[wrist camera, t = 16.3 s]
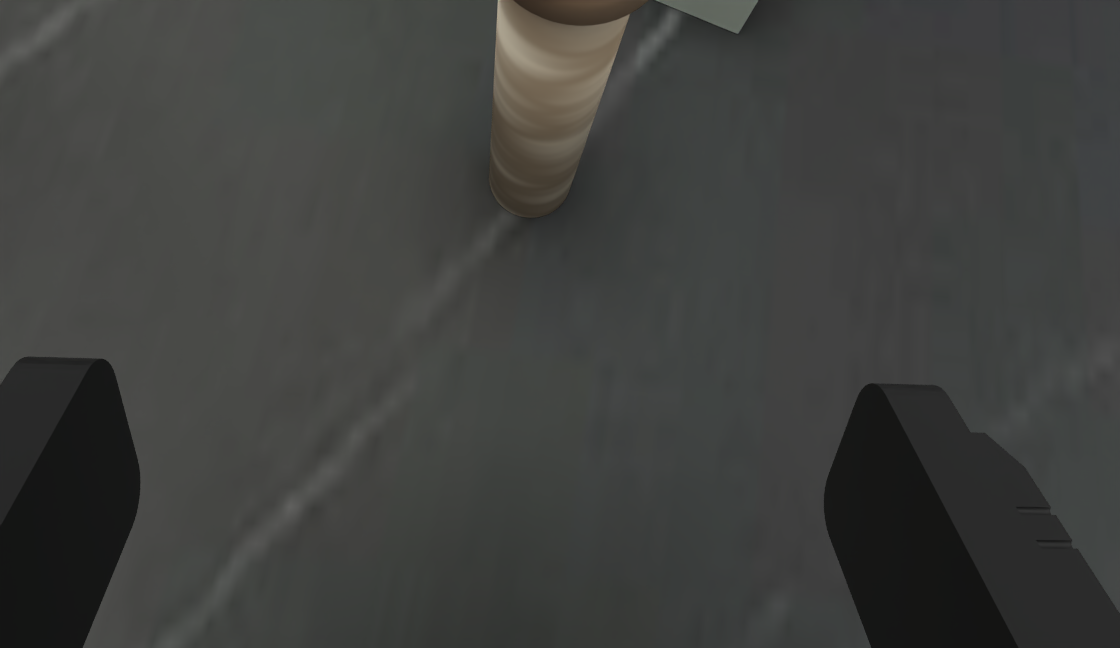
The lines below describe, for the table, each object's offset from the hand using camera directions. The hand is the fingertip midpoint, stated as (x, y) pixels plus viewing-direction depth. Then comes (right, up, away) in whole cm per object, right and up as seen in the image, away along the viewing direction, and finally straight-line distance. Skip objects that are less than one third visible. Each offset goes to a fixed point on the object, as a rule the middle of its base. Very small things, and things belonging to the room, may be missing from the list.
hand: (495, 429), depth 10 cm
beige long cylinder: (0, +7, +28) cm, 29 cm away
